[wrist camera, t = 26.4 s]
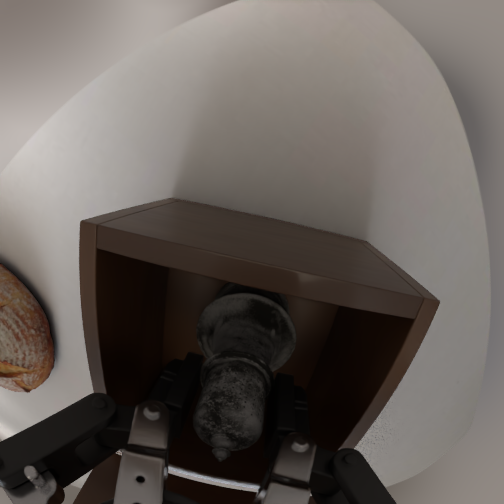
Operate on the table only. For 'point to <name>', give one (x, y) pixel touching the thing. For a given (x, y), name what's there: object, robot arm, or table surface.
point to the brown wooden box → (257, 276)
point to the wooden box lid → (209, 496)
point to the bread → (22, 337)
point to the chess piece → (240, 364)
